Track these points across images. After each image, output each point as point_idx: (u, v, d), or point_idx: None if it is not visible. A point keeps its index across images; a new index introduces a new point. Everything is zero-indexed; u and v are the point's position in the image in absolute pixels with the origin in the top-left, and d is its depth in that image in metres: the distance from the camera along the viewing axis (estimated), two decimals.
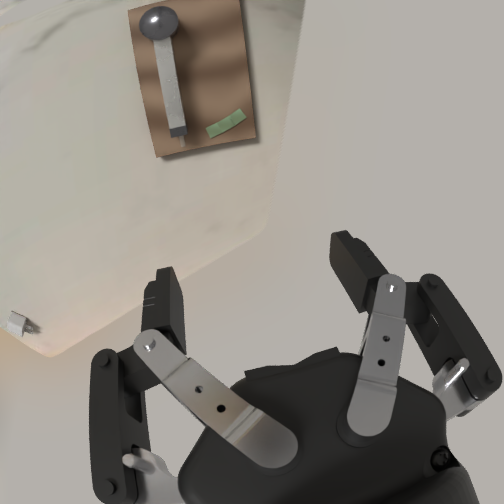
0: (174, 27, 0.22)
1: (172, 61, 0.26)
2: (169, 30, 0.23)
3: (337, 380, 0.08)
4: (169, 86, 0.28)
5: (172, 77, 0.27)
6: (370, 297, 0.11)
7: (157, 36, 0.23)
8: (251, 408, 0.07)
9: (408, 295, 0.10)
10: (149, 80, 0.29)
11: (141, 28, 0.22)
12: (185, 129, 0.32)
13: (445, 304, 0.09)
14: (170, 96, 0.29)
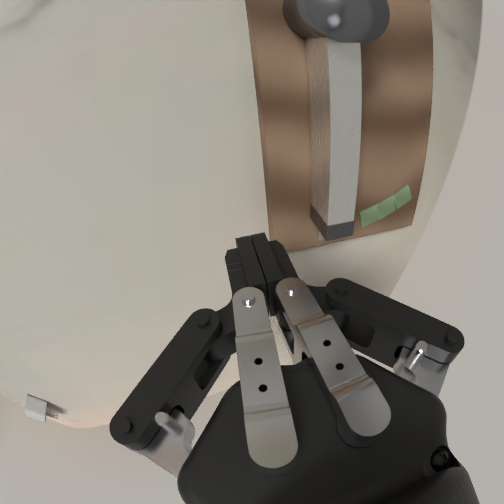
0: (383, 28, 0.09)
1: (358, 96, 0.13)
2: (374, 31, 0.10)
3: None
4: (344, 146, 0.15)
5: (354, 129, 0.14)
6: (274, 301, 0.12)
7: (351, 35, 0.10)
8: (286, 404, 0.07)
9: None
10: (284, 116, 0.16)
11: (317, 3, 0.09)
12: (351, 228, 0.19)
13: (367, 303, 0.10)
14: (342, 168, 0.16)
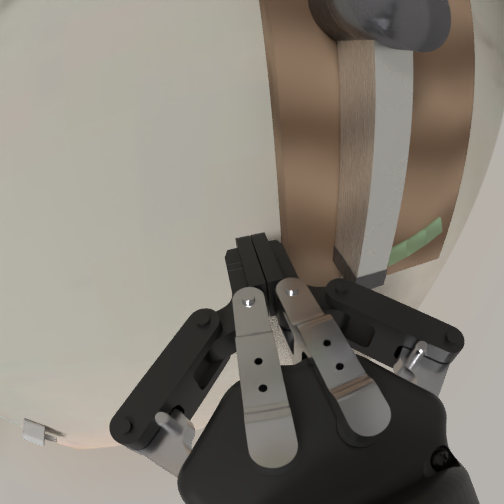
0: (444, 35, 0.06)
1: (408, 121, 0.10)
2: (435, 37, 0.06)
3: None
4: (387, 185, 0.11)
5: (399, 164, 0.11)
6: (274, 301, 0.12)
7: (410, 40, 0.06)
8: (286, 404, 0.07)
9: None
10: (308, 141, 0.13)
11: None
12: (383, 277, 0.15)
13: (367, 303, 0.10)
14: (381, 212, 0.12)
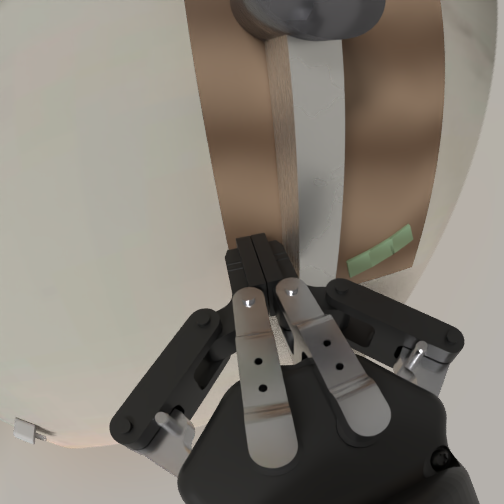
0: (376, 16, 0.06)
1: (340, 122, 0.09)
2: (361, 20, 0.06)
3: None
4: (319, 196, 0.11)
5: (333, 172, 0.11)
6: (274, 301, 0.12)
7: (323, 28, 0.06)
8: (286, 404, 0.07)
9: None
10: (239, 152, 0.12)
11: None
12: None
13: (367, 303, 0.10)
14: (318, 226, 0.12)
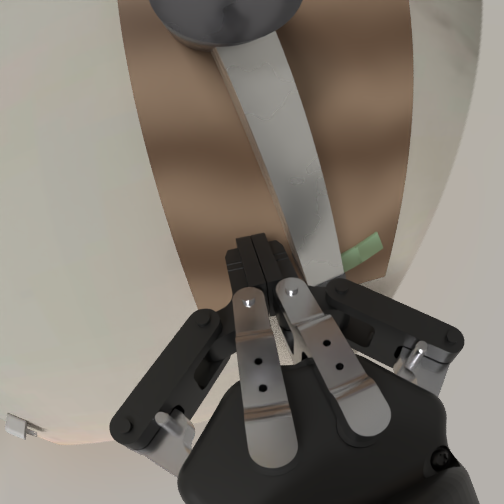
0: None
1: (300, 116, 0.09)
2: (282, 6, 0.06)
3: None
4: (301, 194, 0.11)
5: (308, 167, 0.10)
6: (274, 301, 0.12)
7: (242, 31, 0.06)
8: (285, 404, 0.07)
9: None
10: (179, 164, 0.12)
11: (162, 8, 0.05)
12: None
13: (367, 303, 0.10)
14: (308, 222, 0.12)
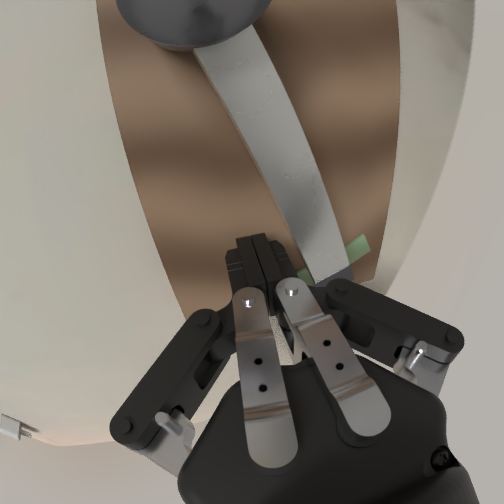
0: None
1: (288, 109, 0.09)
2: (254, 0, 0.05)
3: None
4: (297, 188, 0.11)
5: (301, 160, 0.10)
6: (274, 300, 0.12)
7: (216, 29, 0.06)
8: (285, 404, 0.07)
9: None
10: (158, 167, 0.12)
11: (133, 17, 0.05)
12: (350, 272, 0.14)
13: (367, 303, 0.10)
14: (307, 216, 0.12)
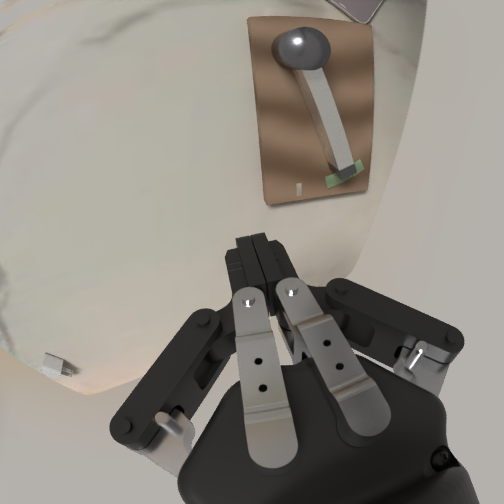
0: (329, 54, 0.20)
1: (330, 94, 0.24)
2: (324, 58, 0.20)
3: None
4: (332, 123, 0.26)
5: (334, 113, 0.25)
6: (274, 301, 0.12)
7: (313, 66, 0.21)
8: (286, 404, 0.07)
9: None
10: (272, 113, 0.27)
11: (290, 57, 0.20)
12: (354, 168, 0.29)
13: (367, 303, 0.10)
14: (335, 135, 0.27)
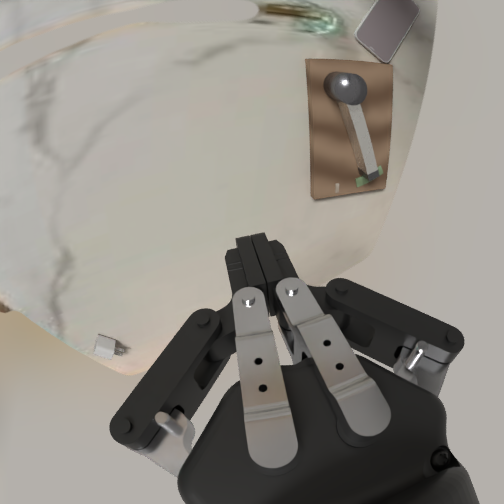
0: (366, 93, 0.30)
1: (364, 121, 0.34)
2: (363, 96, 0.30)
3: None
4: (364, 141, 0.36)
5: (366, 134, 0.35)
6: (274, 301, 0.12)
7: (355, 102, 0.31)
8: (286, 404, 0.07)
9: None
10: (321, 132, 0.37)
11: (341, 95, 0.30)
12: (378, 172, 0.39)
13: (367, 303, 0.10)
14: (366, 150, 0.37)
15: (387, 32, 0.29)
